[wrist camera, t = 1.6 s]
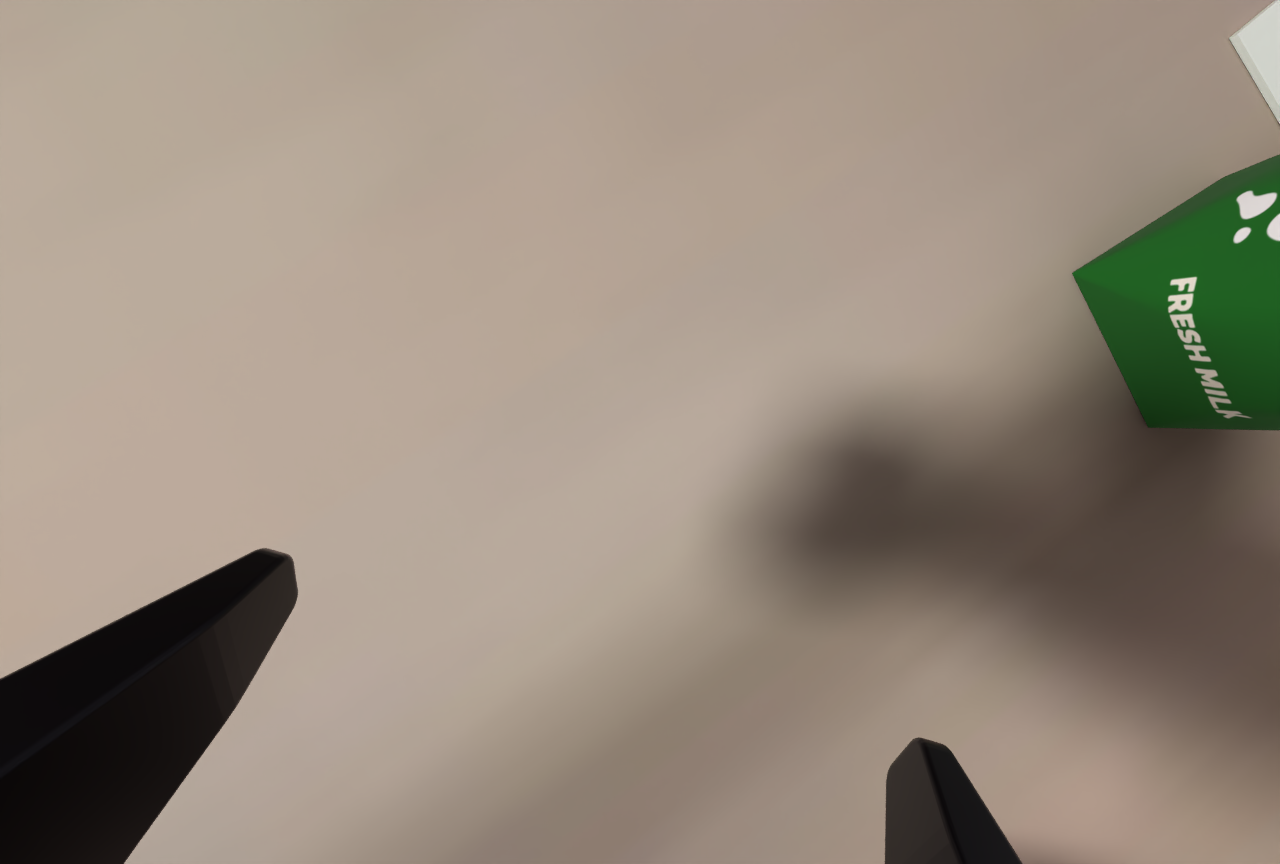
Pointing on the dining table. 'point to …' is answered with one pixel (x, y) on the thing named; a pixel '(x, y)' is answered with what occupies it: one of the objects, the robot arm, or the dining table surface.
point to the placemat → (1262, 53)
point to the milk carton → (1199, 306)
